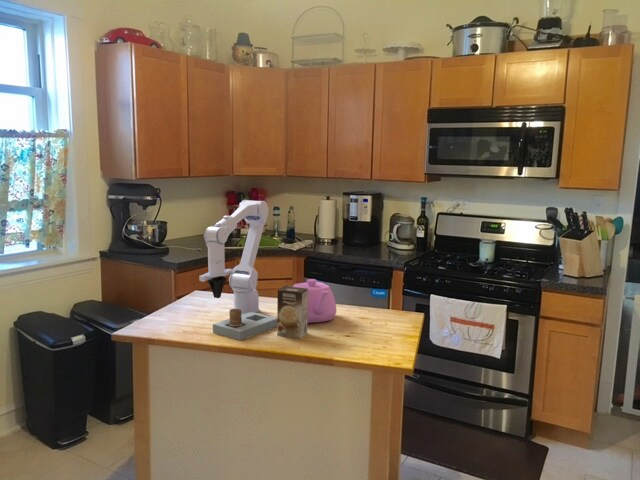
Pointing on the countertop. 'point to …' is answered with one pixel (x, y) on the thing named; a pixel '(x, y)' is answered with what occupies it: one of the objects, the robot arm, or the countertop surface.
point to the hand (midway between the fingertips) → (217, 297)
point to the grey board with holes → (246, 326)
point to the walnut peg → (235, 318)
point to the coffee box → (292, 311)
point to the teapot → (319, 301)
